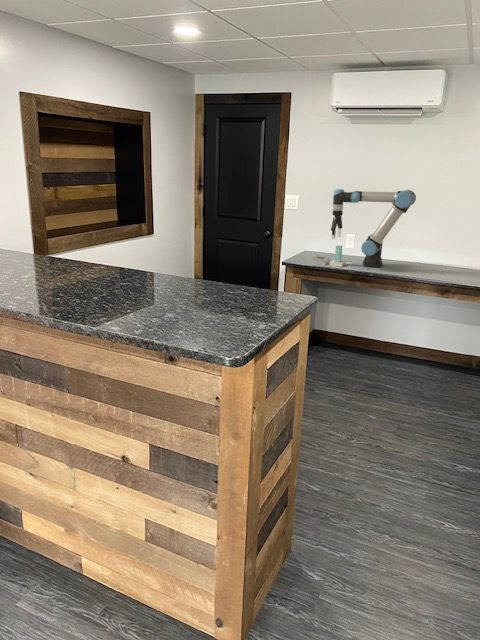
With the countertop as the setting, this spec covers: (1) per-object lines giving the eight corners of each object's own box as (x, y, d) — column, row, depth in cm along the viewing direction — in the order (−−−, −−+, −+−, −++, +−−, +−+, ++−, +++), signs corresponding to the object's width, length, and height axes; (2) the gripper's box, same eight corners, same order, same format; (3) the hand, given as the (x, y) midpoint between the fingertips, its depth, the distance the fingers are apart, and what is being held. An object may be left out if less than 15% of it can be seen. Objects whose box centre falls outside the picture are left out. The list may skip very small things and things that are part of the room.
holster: (345, 264, 399) (345, 261, 398) (341, 266, 390) (342, 263, 390) (333, 263, 403) (333, 259, 402) (329, 265, 395) (329, 262, 394)
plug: (340, 264, 398) (342, 245, 393) (339, 265, 394) (340, 246, 389) (335, 264, 399) (337, 245, 395) (334, 265, 396) (335, 246, 391)
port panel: (330, 262, 405) (330, 256, 404) (325, 265, 395) (325, 259, 394) (316, 260, 411) (316, 255, 409) (310, 263, 401) (311, 257, 399)
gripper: (338, 208, 397) (336, 235, 404) (327, 211, 376) (326, 239, 383) (347, 208, 394) (345, 236, 400) (337, 211, 373) (335, 240, 379)
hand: (336, 238), depth 391 cm, fingers open, 13 cm apart
